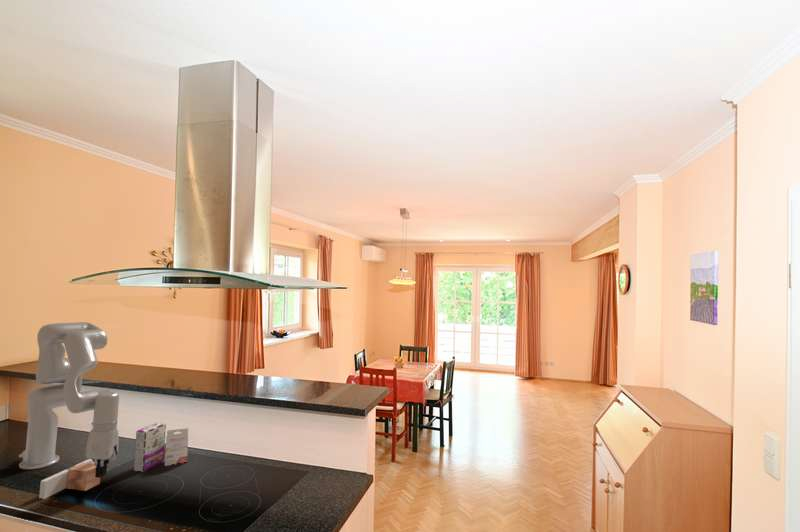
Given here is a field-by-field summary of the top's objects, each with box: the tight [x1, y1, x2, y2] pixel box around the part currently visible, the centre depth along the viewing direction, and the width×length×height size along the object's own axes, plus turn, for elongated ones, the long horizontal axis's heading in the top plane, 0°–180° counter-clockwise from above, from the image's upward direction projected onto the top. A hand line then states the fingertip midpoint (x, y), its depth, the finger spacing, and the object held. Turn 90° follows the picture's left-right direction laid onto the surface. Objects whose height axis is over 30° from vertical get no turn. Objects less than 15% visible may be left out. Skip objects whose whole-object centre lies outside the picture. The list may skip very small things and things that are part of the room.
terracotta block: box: [66, 462, 101, 492], centre depth 153 cm, size 8×6×7 cm
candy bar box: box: [133, 422, 167, 473], centre depth 171 cm, size 11×5×16 cm, turn 168°
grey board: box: [38, 458, 94, 500], centre depth 154 cm, size 2×22×6 cm, turn 172°
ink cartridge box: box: [164, 427, 189, 467], centre depth 176 cm, size 9×5×15 cm, turn 117°
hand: (100, 475), depth 152 cm, fingers closed
